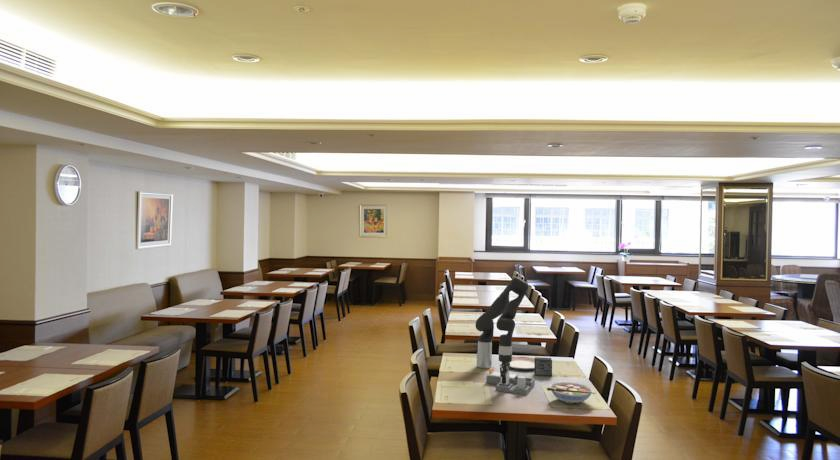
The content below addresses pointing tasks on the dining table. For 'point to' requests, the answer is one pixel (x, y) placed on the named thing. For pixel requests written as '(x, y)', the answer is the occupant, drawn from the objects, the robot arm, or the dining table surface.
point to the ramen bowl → (570, 391)
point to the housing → (513, 384)
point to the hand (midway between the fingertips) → (504, 382)
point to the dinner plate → (522, 363)
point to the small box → (543, 366)
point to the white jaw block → (506, 378)
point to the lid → (497, 374)
